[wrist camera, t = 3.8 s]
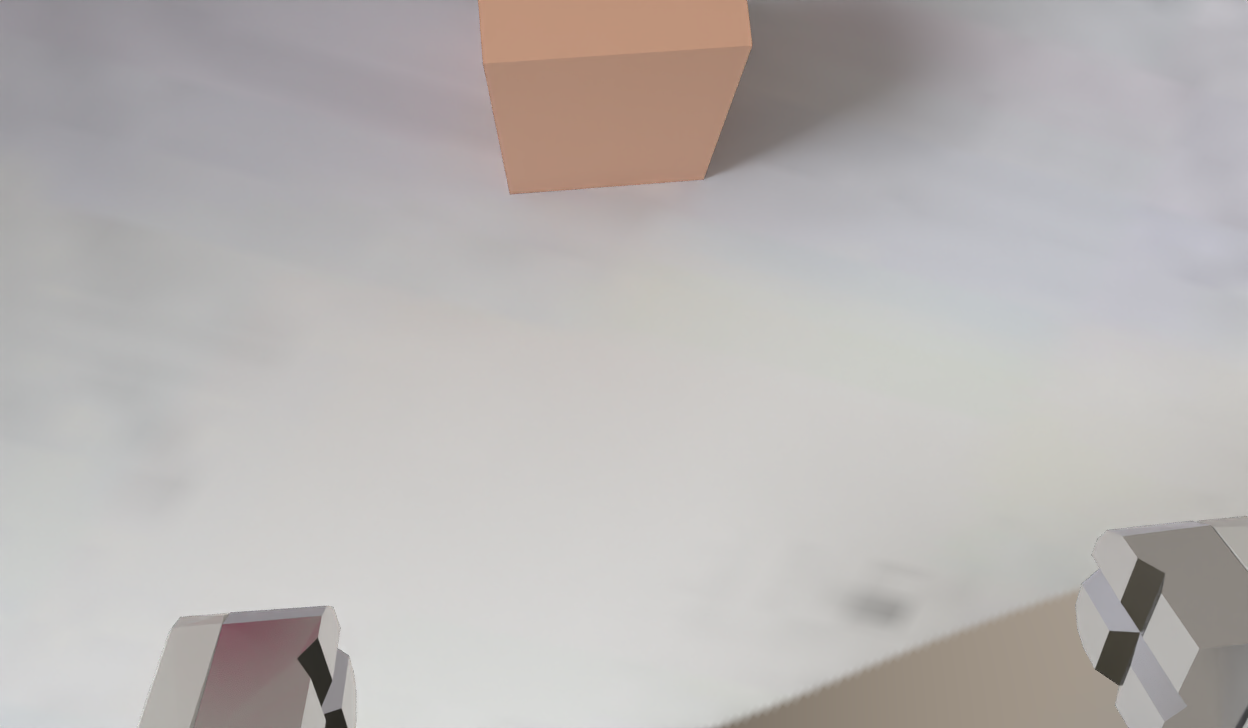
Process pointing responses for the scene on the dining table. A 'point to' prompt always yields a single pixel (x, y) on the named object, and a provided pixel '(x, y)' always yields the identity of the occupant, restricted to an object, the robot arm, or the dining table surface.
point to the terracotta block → (610, 87)
